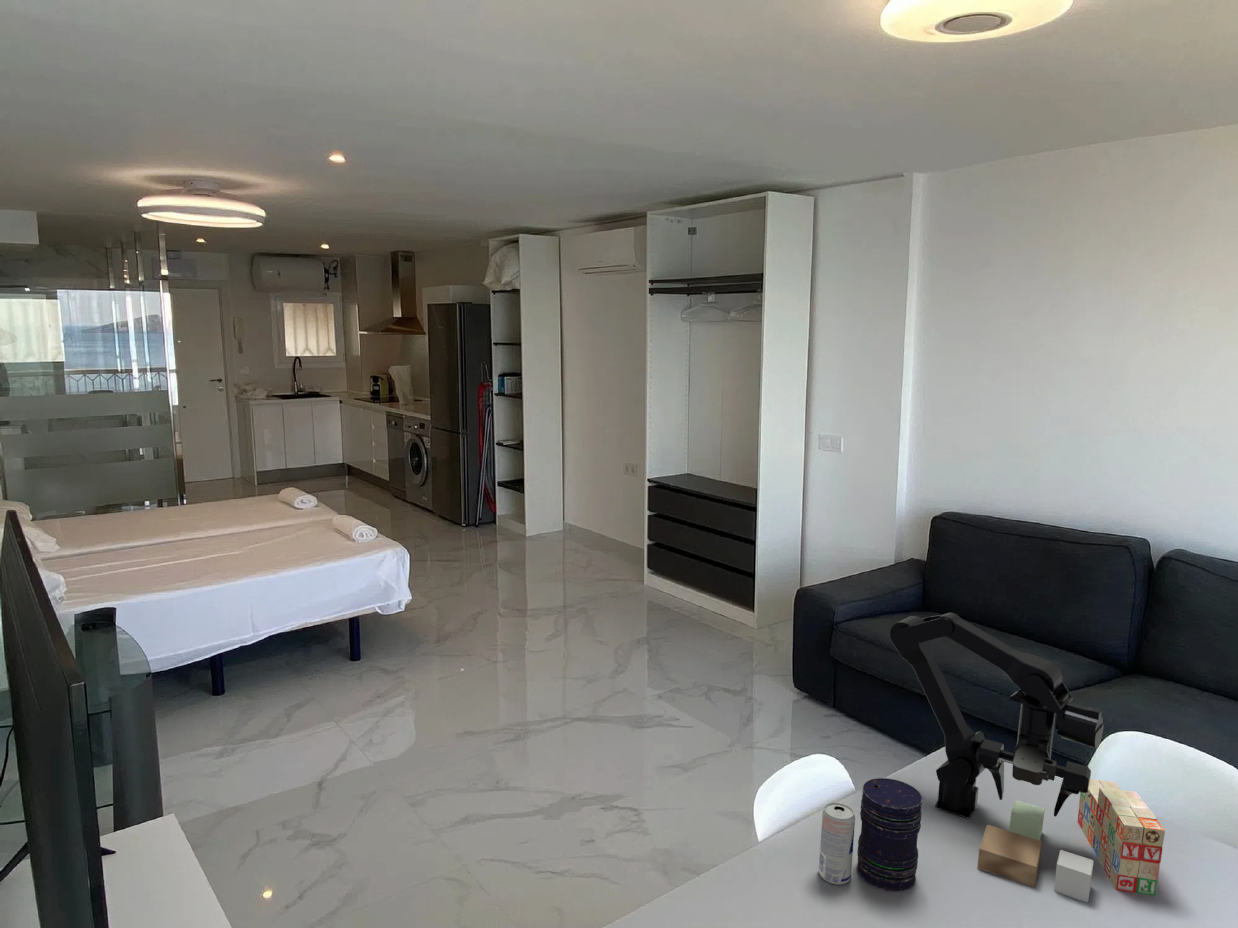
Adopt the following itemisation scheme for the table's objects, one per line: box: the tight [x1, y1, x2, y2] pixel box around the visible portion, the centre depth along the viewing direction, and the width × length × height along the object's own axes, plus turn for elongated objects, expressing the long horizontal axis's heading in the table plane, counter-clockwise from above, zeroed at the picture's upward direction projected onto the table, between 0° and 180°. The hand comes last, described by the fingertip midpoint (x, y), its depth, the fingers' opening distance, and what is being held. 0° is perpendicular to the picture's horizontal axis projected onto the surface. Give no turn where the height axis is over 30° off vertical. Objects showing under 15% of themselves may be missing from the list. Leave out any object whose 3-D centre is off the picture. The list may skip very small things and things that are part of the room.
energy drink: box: [818, 802, 856, 886], centre depth 139 cm, size 5×5×12 cm
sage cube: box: [1008, 799, 1045, 841], centre depth 153 cm, size 5×5×5 cm
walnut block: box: [977, 824, 1043, 888], centre depth 144 cm, size 9×9×4 cm
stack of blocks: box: [1077, 778, 1166, 897], centre depth 146 cm, size 21×6×12 cm, turn 167°
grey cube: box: [1053, 849, 1094, 903], centre depth 137 cm, size 5×5×5 cm
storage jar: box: [856, 777, 923, 893], centre depth 139 cm, size 10×10×15 cm
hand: (1027, 806), depth 153 cm, fingers open, 9 cm apart
